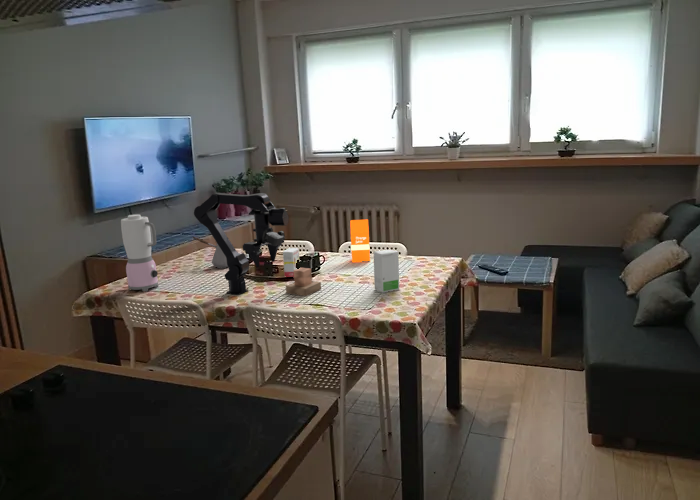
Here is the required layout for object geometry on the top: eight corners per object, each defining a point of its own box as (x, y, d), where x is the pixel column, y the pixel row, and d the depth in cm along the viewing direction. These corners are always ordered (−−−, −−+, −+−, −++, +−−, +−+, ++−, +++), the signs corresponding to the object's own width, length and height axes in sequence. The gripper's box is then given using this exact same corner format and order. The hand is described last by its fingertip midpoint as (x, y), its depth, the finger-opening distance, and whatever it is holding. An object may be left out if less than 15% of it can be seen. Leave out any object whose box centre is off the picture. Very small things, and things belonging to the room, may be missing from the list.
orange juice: (370, 261, 268) (368, 220, 264) (351, 262, 269) (349, 221, 264) (369, 257, 276) (368, 218, 272) (352, 258, 276) (350, 218, 272)
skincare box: (382, 293, 216) (380, 254, 213) (373, 289, 222) (372, 251, 219) (400, 289, 220) (399, 251, 217) (391, 285, 226) (390, 248, 222)
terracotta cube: (294, 284, 224) (293, 270, 222) (302, 281, 228) (301, 267, 226) (304, 286, 221) (303, 271, 220) (311, 283, 225) (311, 268, 224)
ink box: (294, 278, 246) (292, 251, 243) (284, 277, 247) (282, 251, 244) (300, 273, 254) (299, 247, 251) (290, 272, 255) (288, 247, 252)
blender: (122, 291, 238) (111, 217, 231) (141, 283, 249) (131, 213, 243) (153, 293, 233) (143, 217, 226) (170, 285, 244) (161, 213, 237)
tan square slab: (286, 293, 224) (285, 285, 223) (301, 286, 232) (301, 279, 231) (306, 296, 218) (305, 288, 218) (321, 289, 226) (320, 282, 226)
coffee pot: (239, 263, 278) (236, 234, 275) (230, 269, 267) (227, 238, 264) (200, 263, 283) (197, 234, 280) (189, 269, 272) (186, 239, 269)
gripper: (262, 231, 207) (265, 271, 210) (293, 222, 222) (296, 260, 226) (239, 229, 213) (243, 269, 216) (271, 221, 228) (274, 258, 232)
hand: (265, 264), depth 222 cm, fingers open, 9 cm apart
